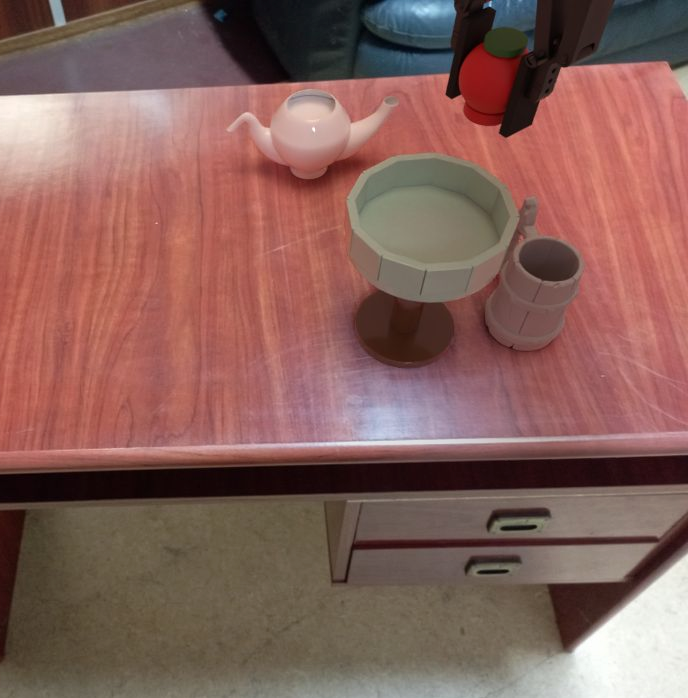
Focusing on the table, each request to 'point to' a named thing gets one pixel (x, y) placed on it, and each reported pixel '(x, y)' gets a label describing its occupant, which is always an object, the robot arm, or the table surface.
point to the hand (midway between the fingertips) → (487, 108)
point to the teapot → (313, 131)
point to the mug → (533, 286)
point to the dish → (423, 249)
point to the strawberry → (491, 75)
